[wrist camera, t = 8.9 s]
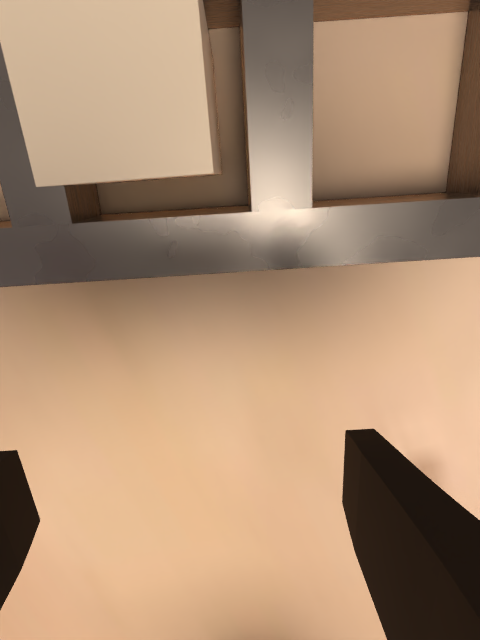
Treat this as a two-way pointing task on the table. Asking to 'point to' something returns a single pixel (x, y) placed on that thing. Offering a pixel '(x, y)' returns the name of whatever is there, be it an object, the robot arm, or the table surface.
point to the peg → (112, 89)
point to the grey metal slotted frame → (251, 176)
